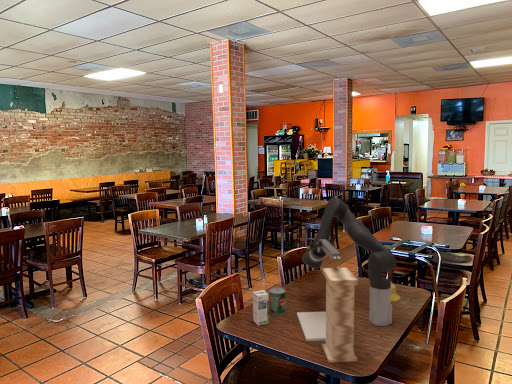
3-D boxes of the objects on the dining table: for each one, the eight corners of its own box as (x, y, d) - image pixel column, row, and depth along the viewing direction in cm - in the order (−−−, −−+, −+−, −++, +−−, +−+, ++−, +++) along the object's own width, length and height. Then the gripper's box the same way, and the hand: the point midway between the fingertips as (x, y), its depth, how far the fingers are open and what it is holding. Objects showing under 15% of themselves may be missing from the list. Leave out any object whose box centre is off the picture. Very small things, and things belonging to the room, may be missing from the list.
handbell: (397, 304, 194) (398, 257, 192) (373, 298, 202) (374, 253, 199) (404, 296, 204) (405, 251, 202) (381, 291, 212) (382, 248, 209)
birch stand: (346, 341, 157) (347, 267, 153) (358, 361, 142) (359, 279, 138) (320, 342, 156) (320, 268, 153) (329, 363, 141) (329, 280, 138)
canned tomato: (286, 314, 183) (286, 293, 182) (270, 315, 183) (269, 293, 182) (284, 308, 191) (284, 287, 190) (269, 308, 191) (269, 287, 190)
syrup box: (257, 326, 172) (257, 295, 170) (253, 320, 178) (252, 291, 176) (269, 323, 174) (268, 293, 173) (264, 318, 180) (263, 289, 178)
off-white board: (333, 313, 184) (333, 311, 184) (348, 339, 159) (348, 337, 159) (296, 314, 184) (296, 312, 184) (306, 341, 158) (306, 338, 158)
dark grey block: (325, 245, 174) (325, 239, 173) (341, 262, 148) (341, 254, 148) (319, 245, 173) (319, 239, 173) (333, 262, 148) (333, 254, 147)
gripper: (303, 245, 185) (309, 234, 169) (331, 244, 185) (339, 233, 170) (304, 260, 182) (310, 250, 166) (333, 259, 182) (341, 250, 166)
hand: (325, 242), depth 168 cm, fingers closed on dark grey block, 3 cm apart
